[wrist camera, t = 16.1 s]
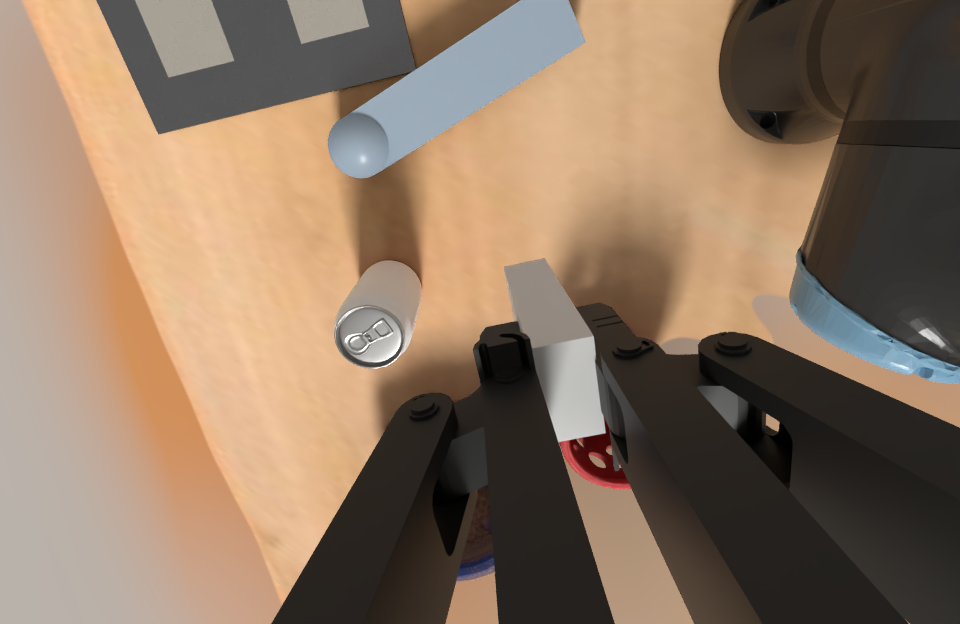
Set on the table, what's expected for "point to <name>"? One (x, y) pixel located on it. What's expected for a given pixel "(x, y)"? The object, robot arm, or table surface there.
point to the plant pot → (586, 467)
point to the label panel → (252, 52)
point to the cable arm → (454, 85)
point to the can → (379, 315)
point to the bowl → (478, 542)
